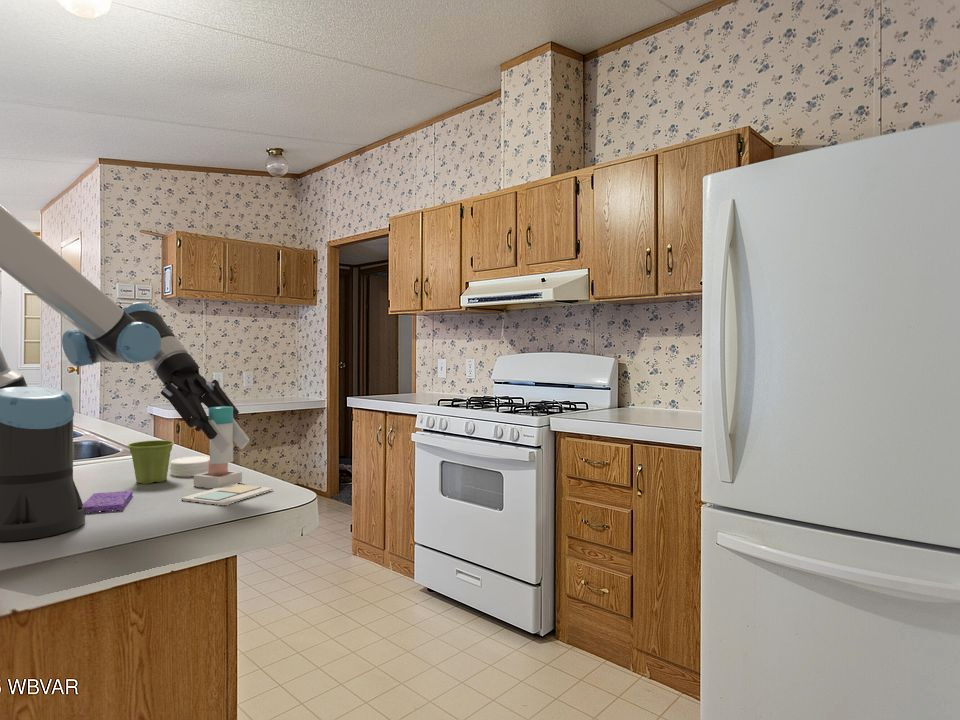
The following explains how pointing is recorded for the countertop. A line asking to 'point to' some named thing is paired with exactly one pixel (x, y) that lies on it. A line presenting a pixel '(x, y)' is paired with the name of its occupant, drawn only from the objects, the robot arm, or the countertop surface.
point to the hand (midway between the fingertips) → (236, 446)
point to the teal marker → (225, 423)
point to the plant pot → (151, 460)
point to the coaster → (189, 466)
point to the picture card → (226, 494)
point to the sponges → (107, 501)
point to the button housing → (217, 479)
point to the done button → (217, 469)
